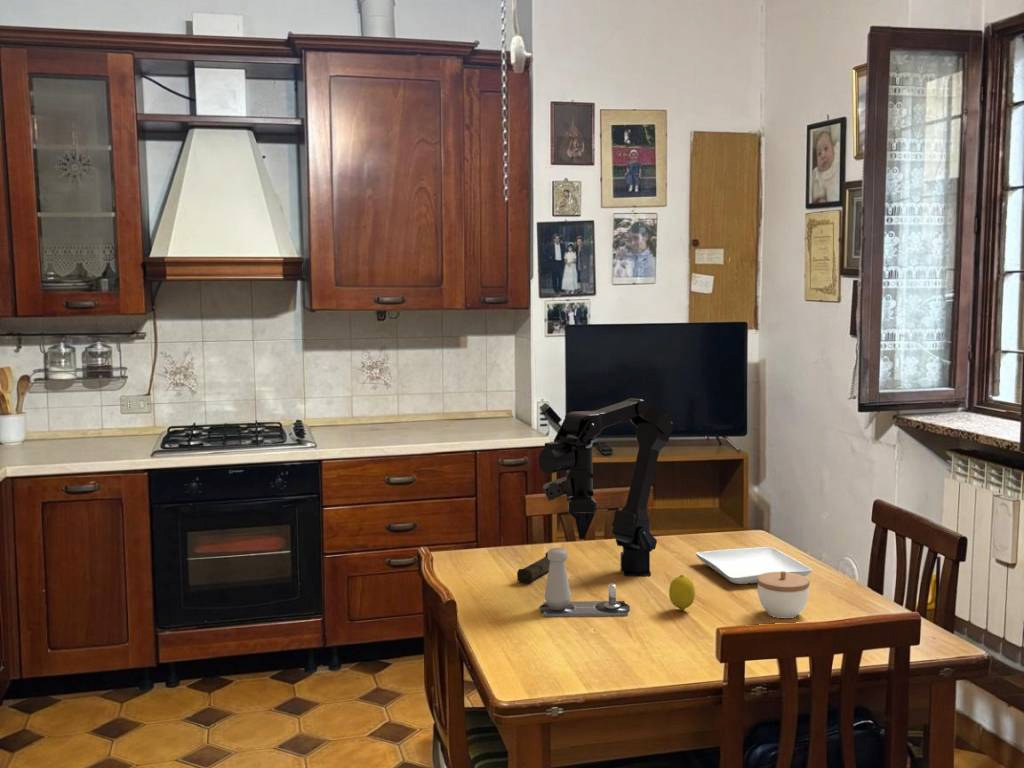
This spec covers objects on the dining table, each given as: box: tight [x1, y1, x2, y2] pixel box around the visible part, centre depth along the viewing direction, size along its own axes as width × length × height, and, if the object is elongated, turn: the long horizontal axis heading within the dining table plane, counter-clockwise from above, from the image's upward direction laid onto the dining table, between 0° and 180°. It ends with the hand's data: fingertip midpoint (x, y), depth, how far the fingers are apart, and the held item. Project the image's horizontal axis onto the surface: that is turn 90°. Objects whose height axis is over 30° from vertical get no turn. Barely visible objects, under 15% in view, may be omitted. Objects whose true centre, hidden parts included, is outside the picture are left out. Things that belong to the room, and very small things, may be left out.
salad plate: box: [695, 546, 813, 585], centre depth 250 cm, size 21×21×3 cm
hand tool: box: [516, 551, 550, 585], centre depth 252 cm, size 19×4×5 cm, turn 148°
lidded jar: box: [756, 571, 810, 619], centre depth 220 cm, size 11×11×9 cm
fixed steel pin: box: [604, 583, 621, 610], centre depth 225 cm, size 4×4×5 cm
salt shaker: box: [544, 547, 572, 610], centre depth 225 cm, size 6×6×13 cm
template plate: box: [539, 600, 631, 618], centre depth 225 cm, size 20×8×1 cm, turn 89°
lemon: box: [668, 574, 696, 612], centre depth 224 cm, size 6×6×8 cm
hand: (580, 533), depth 239 cm, fingers open, 9 cm apart
